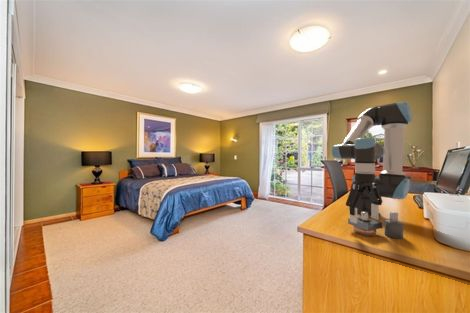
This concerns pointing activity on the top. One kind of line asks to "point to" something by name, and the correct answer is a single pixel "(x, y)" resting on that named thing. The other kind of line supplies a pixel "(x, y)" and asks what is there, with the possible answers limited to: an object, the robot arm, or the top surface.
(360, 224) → the hollow square frame
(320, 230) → the top surface
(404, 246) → the top surface
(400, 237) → the stand
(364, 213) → the hub
